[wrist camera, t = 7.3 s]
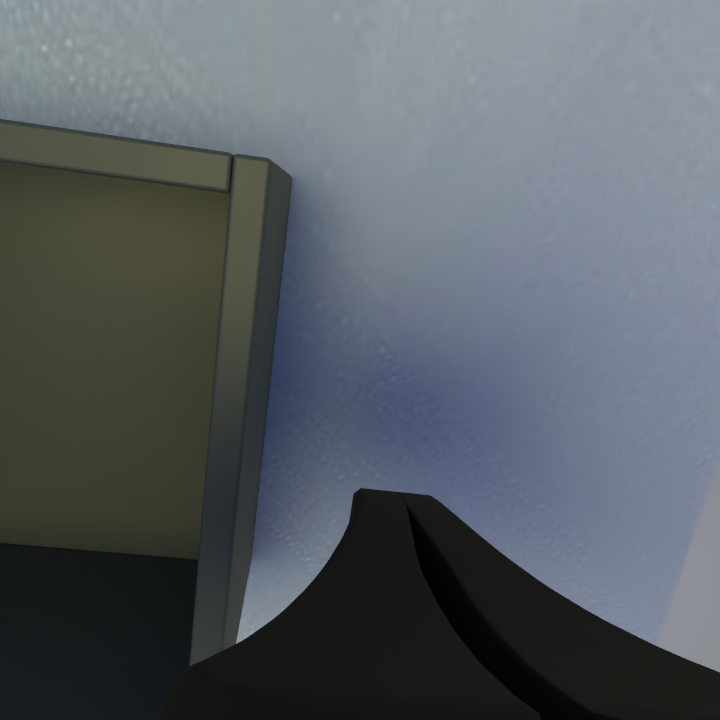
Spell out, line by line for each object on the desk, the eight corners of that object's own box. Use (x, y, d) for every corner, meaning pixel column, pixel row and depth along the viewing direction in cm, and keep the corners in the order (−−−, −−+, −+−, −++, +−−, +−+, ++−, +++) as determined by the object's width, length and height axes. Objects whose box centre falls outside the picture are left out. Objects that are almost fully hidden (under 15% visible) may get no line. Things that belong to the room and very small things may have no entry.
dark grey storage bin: (272, 158, 10) (-456, 52, 9) (209, 788, 13) (-345, 759, 12) (292, 176, 17) (-93, 120, 16) (251, 563, 20) (-80, 534, 19)
